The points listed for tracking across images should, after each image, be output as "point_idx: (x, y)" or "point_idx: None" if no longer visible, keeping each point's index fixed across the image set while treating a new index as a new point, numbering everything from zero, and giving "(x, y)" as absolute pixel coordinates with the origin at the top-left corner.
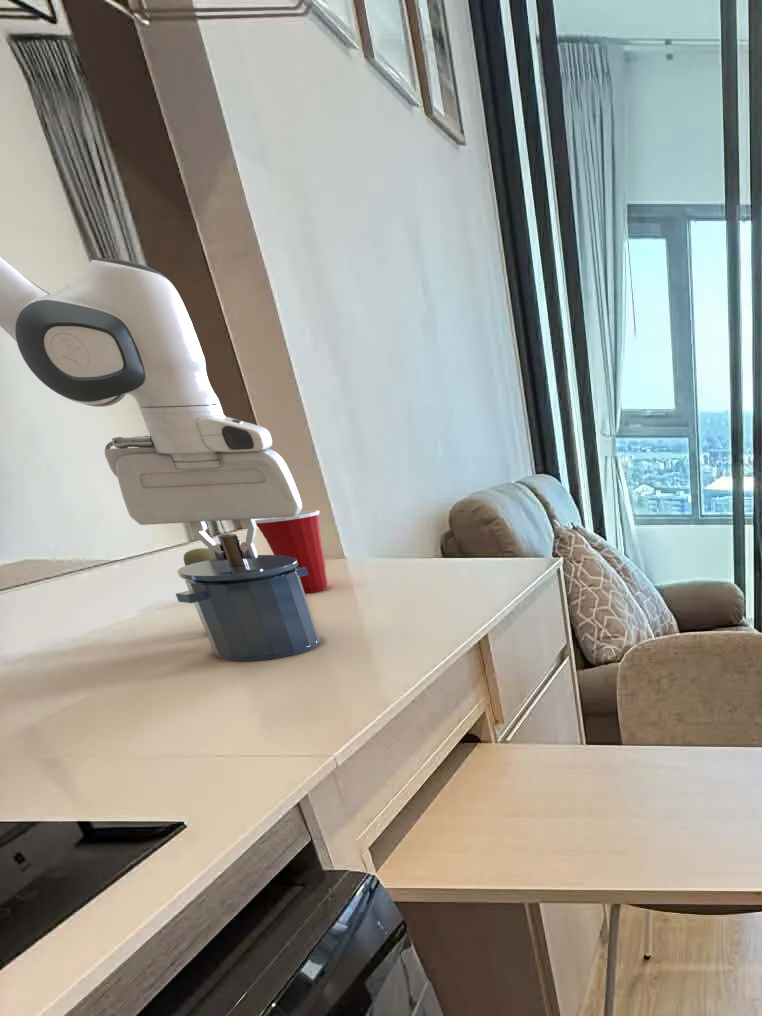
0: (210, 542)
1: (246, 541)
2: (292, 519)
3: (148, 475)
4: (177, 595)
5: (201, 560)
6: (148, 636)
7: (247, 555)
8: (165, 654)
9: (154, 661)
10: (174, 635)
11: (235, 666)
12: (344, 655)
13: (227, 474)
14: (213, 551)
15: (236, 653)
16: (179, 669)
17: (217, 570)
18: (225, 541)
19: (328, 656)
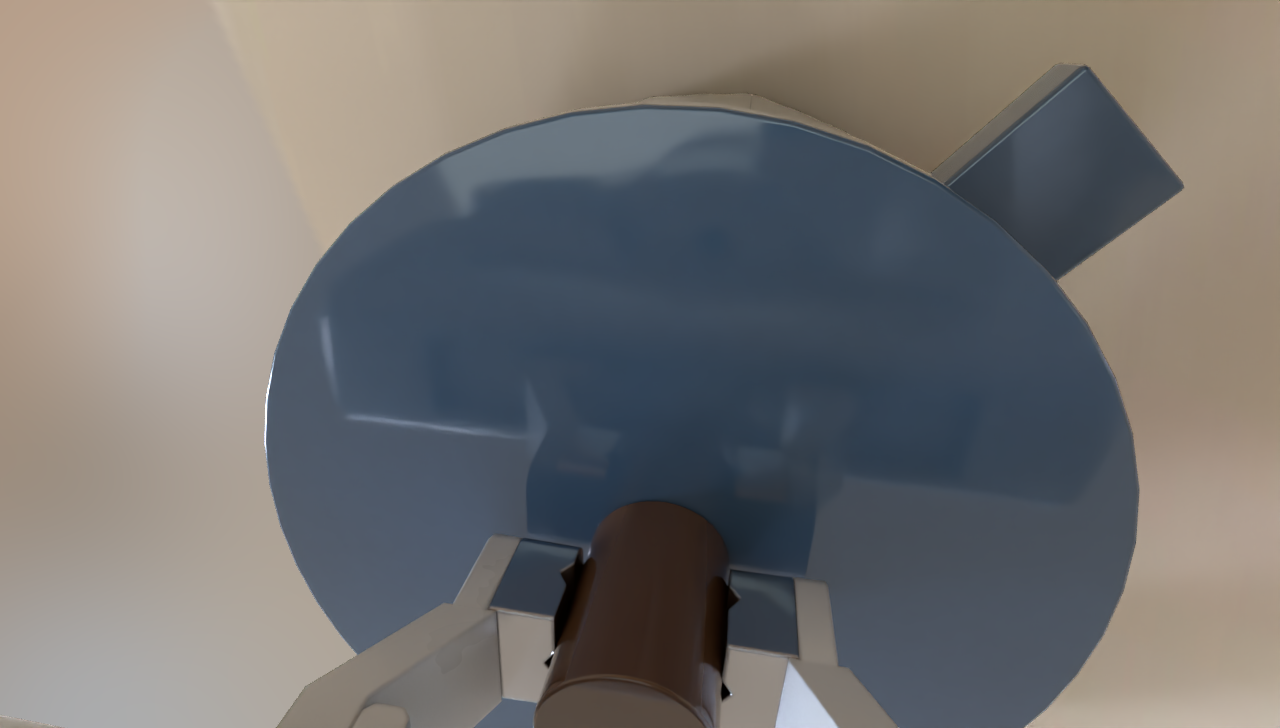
0: (803, 701)
1: (471, 623)
2: None
3: None
4: (1168, 166)
5: None
6: (1191, 717)
7: (540, 546)
8: (1161, 413)
9: (1230, 304)
10: (1089, 687)
11: (840, 18)
12: (336, 28)
13: None
14: (799, 622)
15: (826, 124)
16: (1128, 76)
17: (799, 403)
18: (650, 649)
19: (408, 40)
